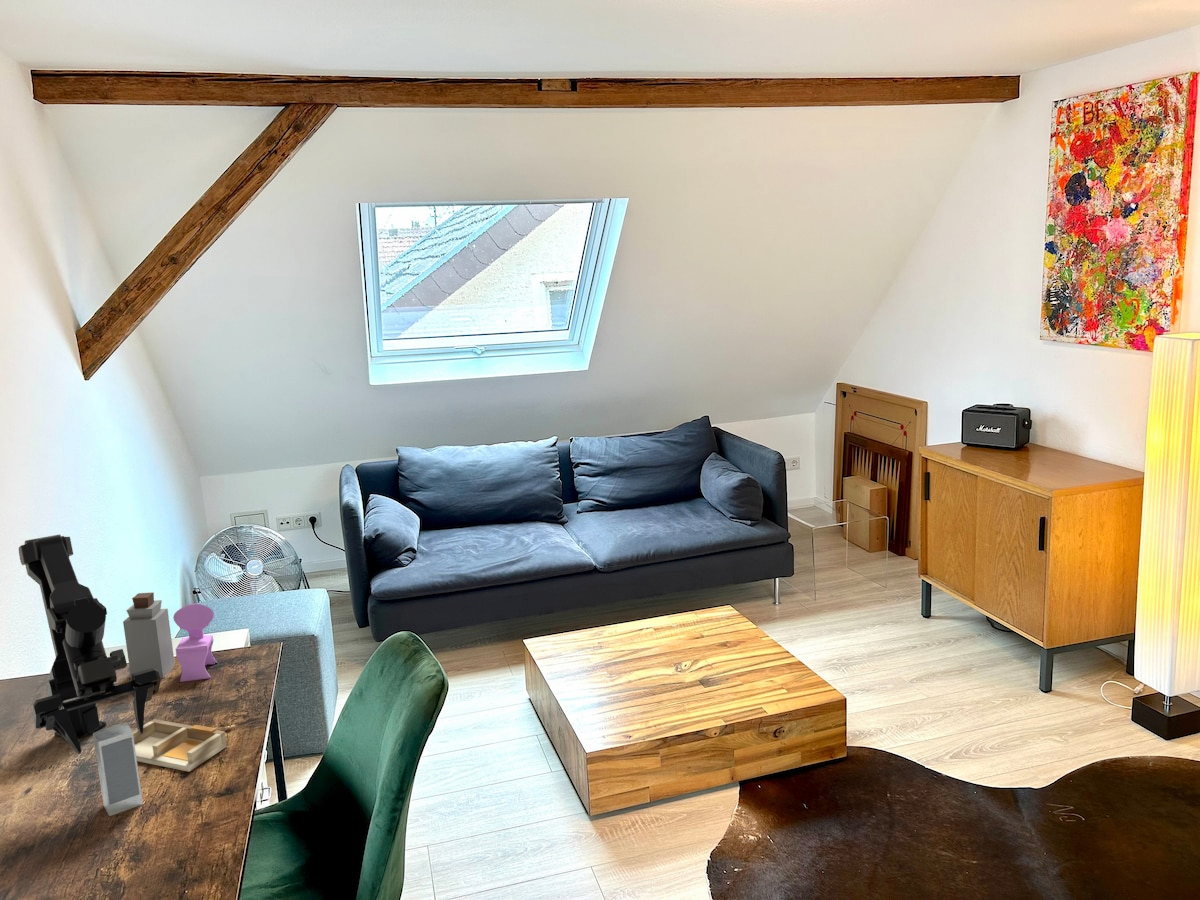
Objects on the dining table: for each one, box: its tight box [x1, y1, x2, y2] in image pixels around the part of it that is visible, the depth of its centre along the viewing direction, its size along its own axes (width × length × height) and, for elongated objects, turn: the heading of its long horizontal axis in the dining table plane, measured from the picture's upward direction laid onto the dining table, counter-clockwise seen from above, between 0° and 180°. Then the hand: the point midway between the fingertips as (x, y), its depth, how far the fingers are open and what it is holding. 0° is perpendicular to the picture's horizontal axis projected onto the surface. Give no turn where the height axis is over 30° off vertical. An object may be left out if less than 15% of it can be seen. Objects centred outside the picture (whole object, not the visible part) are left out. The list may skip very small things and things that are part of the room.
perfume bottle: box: [122, 592, 176, 679], centre depth 200 cm, size 7×7×18 cm
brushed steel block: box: [92, 722, 144, 817], centre depth 148 cm, size 4×5×13 cm
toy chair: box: [173, 603, 218, 683], centre depth 199 cm, size 8×9×15 cm
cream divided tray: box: [132, 718, 227, 772], centre depth 166 cm, size 9×17×3 cm, turn 69°
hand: (111, 743), depth 150 cm, fingers open, 9 cm apart
